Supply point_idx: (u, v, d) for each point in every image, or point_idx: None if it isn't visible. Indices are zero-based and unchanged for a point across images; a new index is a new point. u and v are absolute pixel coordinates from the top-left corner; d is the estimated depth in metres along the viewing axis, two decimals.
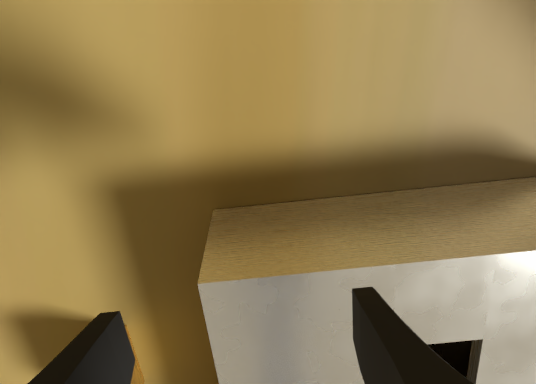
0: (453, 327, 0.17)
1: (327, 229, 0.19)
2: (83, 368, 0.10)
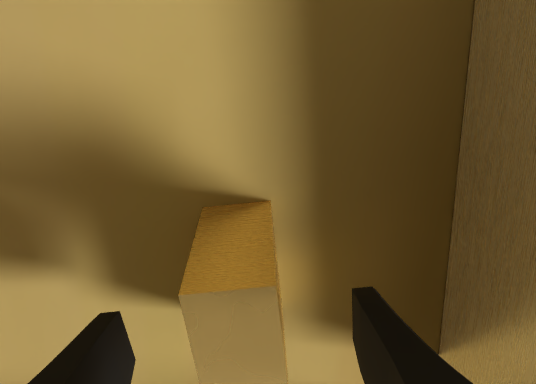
0: None
1: None
2: (83, 368, 0.10)
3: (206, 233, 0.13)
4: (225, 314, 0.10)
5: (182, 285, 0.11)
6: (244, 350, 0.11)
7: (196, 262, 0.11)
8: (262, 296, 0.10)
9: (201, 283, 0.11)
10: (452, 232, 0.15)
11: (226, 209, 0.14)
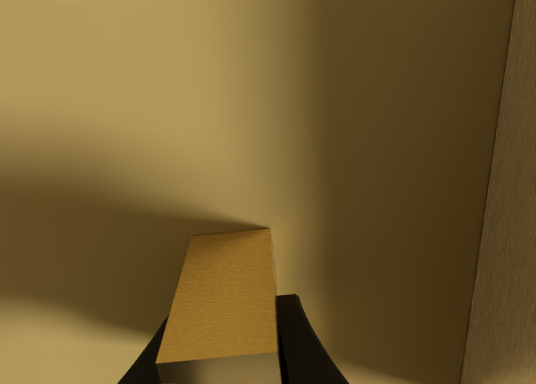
0: None
1: None
2: None
3: (194, 272, 0.11)
4: None
5: (161, 348, 0.09)
6: None
7: (180, 314, 0.09)
8: (261, 364, 0.08)
9: (185, 345, 0.09)
10: (479, 263, 0.13)
11: (219, 239, 0.12)
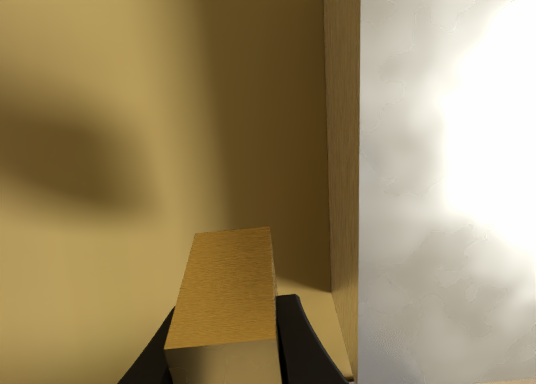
0: None
1: None
2: None
3: (198, 267, 0.12)
4: (218, 369, 0.09)
5: (169, 335, 0.09)
6: None
7: (186, 305, 0.10)
8: (261, 350, 0.09)
9: (191, 333, 0.09)
10: (329, 192, 0.20)
11: (221, 237, 0.13)
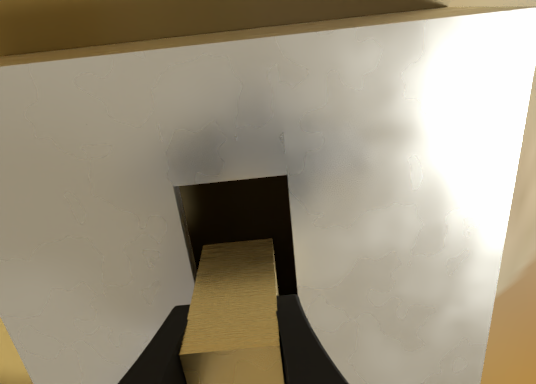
0: (243, 155, 0.14)
1: (105, 49, 0.15)
2: (174, 359, 0.10)
3: (207, 277, 0.13)
4: (228, 372, 0.10)
5: (183, 341, 0.10)
6: None
7: (197, 314, 0.11)
8: (266, 355, 0.10)
9: (203, 340, 0.10)
10: None
11: (227, 248, 0.14)
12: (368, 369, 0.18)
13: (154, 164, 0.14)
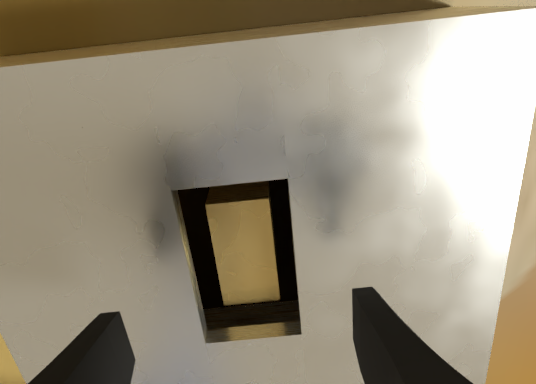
0: (243, 158, 0.13)
1: (102, 49, 0.15)
2: (83, 368, 0.10)
3: None
4: (235, 219, 0.16)
5: (207, 200, 0.16)
6: (247, 246, 0.17)
7: (215, 189, 0.17)
8: (260, 206, 0.16)
9: (219, 199, 0.16)
10: None
11: None
12: None
13: (152, 168, 0.13)
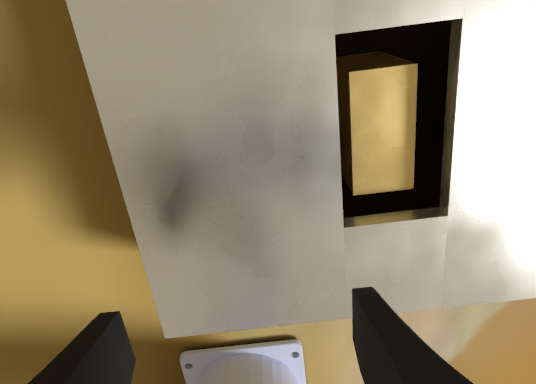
0: None
1: None
2: (83, 368, 0.10)
3: (343, 61, 0.17)
4: (379, 89, 0.15)
5: (347, 70, 0.15)
6: (387, 122, 0.15)
7: (348, 66, 0.16)
8: (407, 73, 0.15)
9: (361, 68, 0.15)
10: None
11: (348, 56, 0.19)
12: (513, 267, 0.16)
13: (318, 5, 0.12)
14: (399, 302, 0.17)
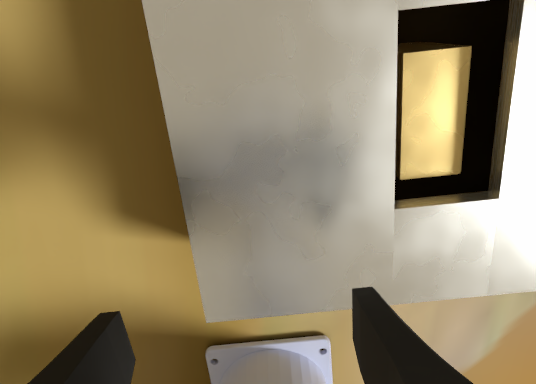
0: None
1: None
2: (83, 368, 0.10)
3: None
4: (432, 71, 0.15)
5: (400, 52, 0.15)
6: (438, 105, 0.16)
7: (398, 50, 0.16)
8: (461, 55, 0.15)
9: (414, 51, 0.15)
10: None
11: None
12: None
13: None
14: (445, 288, 0.17)
